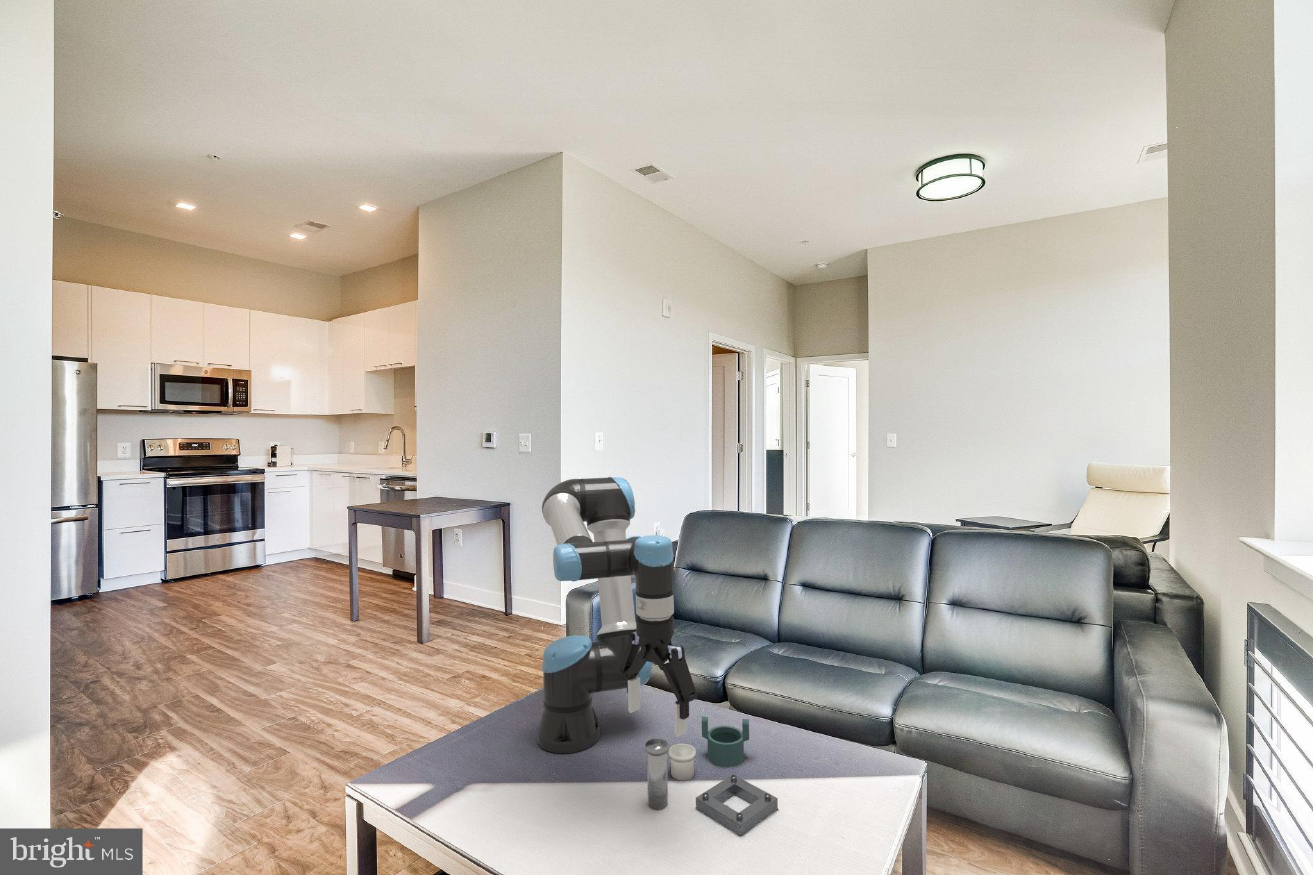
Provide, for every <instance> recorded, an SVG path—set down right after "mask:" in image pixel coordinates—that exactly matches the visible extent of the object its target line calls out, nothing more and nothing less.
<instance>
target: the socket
mask: <svg viewBox="0 0 1313 875" xmlns="http://www.w3.org/2000/svg"><path fill="white" fill-rule="evenodd" d="M734 796H737V797H738V798H741V799H742V800H744V801H746V802H747V803H749V805H748V806H746V807H745V808H744V809H742V810H740V811H736V810H735V809H733V808H732V807H730V806H728V805H727V804H725V803H724V802H725V801H727V800H729V799H730V798H732V797H734ZM778 801H779V800H778V797H776V796H774V795H773V794H771V793H769V792H767V791H765V790H763V789H761V788H760V787H758V786H756V785H755V784H752V783H750V782H748V781H747V780H745V779H743V778H741V777H739V776H737V775H735V774H731V775H730V776H728V777H726V778H725V779H723V780H722V781H720V782H719V783H717V784H715V785H713V786H712V787H711V788H708V789H707V790H706V791H704V792H702V793H701V794H699V795H697V796H695V808H696V810H698V811H700V812H701V813H703V814H704V815H706V816H707V817H709V818H711V819H712V820H714V821H715V822H717V823H719V824H720V825H722V826H723V827H725V828H727V829H728V830H730V831H731V832H733V833H734V834H736V835H738V836H739V837H742V836H743V835H744V834H747V833H748V832H749V831H750V830H752V829H753V828H755V826H757V825H758V824H760V823H761V822H762V821H764V820H765V819H767V817H770V815H772V814H773V813H774V812H776V811H777V810H778V808H779V806H778V805H779V804H778V803H779V802H778Z"/></svg>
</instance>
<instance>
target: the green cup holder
mask: <svg viewBox="0 0 1313 875" xmlns="http://www.w3.org/2000/svg"><path fill="white" fill-rule="evenodd" d="M741 720H742V722H741V725H742V728H741V729H742V730H741V729H739V728H737V727H735V726H732V725H731V726H730V725H719V726H713V727H712V728H710V729H709V717H708V716H701V737H702V738H703V739H705V740H707V759H708V761H709V762H710V763H711V764H713V765H715V766H717V767H721V768H733V767H737V766H740V765H741V764H743V762H744V760H745V750H744V748H745V746H744V745H745V742H747V741H750V719H749V718H742V719H741Z"/></svg>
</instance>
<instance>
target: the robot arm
mask: <svg viewBox="0 0 1313 875" xmlns="http://www.w3.org/2000/svg"><path fill="white" fill-rule="evenodd" d="M635 506H636V501H635V496H634V491H633V489H632V486H631V484H630V483H629V481H628V480H627V479H625V478H624V477H617V476H616V477H614V476H608V477H592V478H590V477H589V478H588V477H587V478H571V479H566V480H564V481H561V482H558V483H557V484H556V485H555V486H553V487H552V488H551V489H550V490H549V491H548V492H547V493H546V495H545V496H544V498H543V501H542V505H541V513H542V515H543V516H542V517H543V519H544V521H545V523H546V524H548V525H549V526H550V527H551V532H552V533H553V537H554V539H555V543H556V546H554V548H553V552H552V558H553V560H552V561H553V562H552V563H553V565H552V566H553V572H554V577H555V579H556V580H557V581H559V582H577V581H586V580H595V579H597V583H598V584H597V585H598V596H599V608H600V617H601V628H600V629H599V630H598V632H597V633H596V639H597V640H596V641H592V640H591V638H590V637H588V636H586V635H582V634H581V635H578V634H577V635H576V634H575V635H568V636H563V637H561V638H559V639H555V640H554V641H552V642H551V643H549V644H548V645H546V647H545V649H544V650H543V654H542V665H541V670H542V672H543V674H542V675H543V676H542V677H543V682H542V683H543V684H542V685H543V709H542V712H541V716H540V719H539V723H538V726H537V729H536V741H537V742H536V743H537V745H538V747H540V748H541V749H542V750H545V751H547V752H549V753H554V754H555V753H556V754H570V753H571V754H572V753H577V752H581V751H584V750H587V749H589V748H590V747H592V746H594V745H595V744H596V743H597V742H598V741H599V739H600V736H601V726H600V722H599V719H598V717H597V713H596V711H595V708H594V705H593V693H598V692H599V693H601V692H608V691H610V692H611V691H616V690H622V689H623V690H624V689H626V693H627V700H628V702H627V704H628V705H627V706H628V707H627V709H628V713H630V714H632V713H634V712H637V711H639V710H641V709H642V708H641V707H642V706H641V704H642V702H641V701H642V700H641V686H644V685H646V684H647V683H648V682H649V680H650V678H651V675H652V671H653V670H652V669H653V664H654V665H655V666H658V669H659V670H661V671H662V672H663V674H664V676H665V678H666V680H667V683H668V684H669V686H670V688H671V691H672V692H673V695H674V696H675V698H676V700H674V701H673V706H674V707H673V708H674V710H673V711H674V715H673V716H674V718H673V719H674V736H675V737H677V738H679V737H680V736H683V735H684V734H686V733H688V730H689V729H688V718H689V716H690V702H693V701H695V700H697V699H698V693H697V690H696V687H695V683H694V681H693V677H692V675H691V671H690V670H689V666H688V664H687V660H686V655H685V646H683V645H680V646H674V645H673V643H672V639H673V636H674V634H675V617H674V616H673V615H674V614H675V602H674V597H675V596H674V557H675V556H674V551H673V550H674V549H673V541H672V540H671V538H669V537H667V536H663V535H658V534H657V535H652V534H651V535H644V536H640V535H632V536H629V537H627V533H626V530H627V529H628V528H629V527H630V525H631V520H632V519H633V518H634V517H635V514H636V507H635ZM585 522H586V525H585ZM589 532H590V533H591V534H592V535H593V538H592V537H591V535H590V533H589ZM632 576H635V577H634V578H635V582H634V583H635V602H634V596H633V588H632V578H631V577H632ZM634 603H635V604H634ZM635 614H636V615H637V616H635ZM667 661H668V662H667Z"/></svg>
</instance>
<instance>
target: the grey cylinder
mask: <svg viewBox="0 0 1313 875" xmlns="http://www.w3.org/2000/svg"><path fill="white" fill-rule="evenodd" d="M669 749H670V747H669V742H668V741H667V740H665V739H663V738H651V739H649V740H648V741H646V743H645V752H646V765H647V768H646V769H647V774H646V775H647V776H646V777H647V805H648V807H649V809H651V810H653V811H661V810H665V809H666V808H667V807H668V805H669V793H668V792H669V788H668V784H669V782H668V779H669V778H668V777H669V776H668V753H669Z"/></svg>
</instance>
